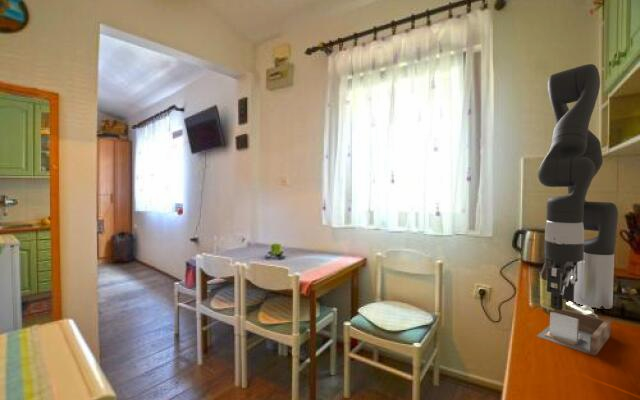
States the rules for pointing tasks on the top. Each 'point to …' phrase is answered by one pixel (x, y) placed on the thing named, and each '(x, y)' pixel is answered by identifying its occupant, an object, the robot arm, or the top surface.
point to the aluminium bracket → (565, 328)
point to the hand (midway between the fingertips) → (562, 304)
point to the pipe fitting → (580, 309)
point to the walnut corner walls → (591, 328)
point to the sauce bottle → (544, 295)
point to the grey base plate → (581, 346)
